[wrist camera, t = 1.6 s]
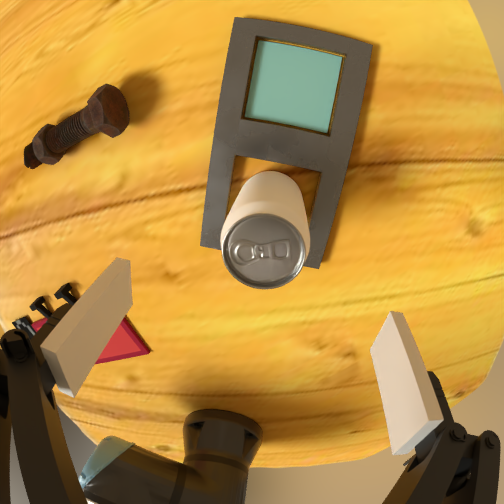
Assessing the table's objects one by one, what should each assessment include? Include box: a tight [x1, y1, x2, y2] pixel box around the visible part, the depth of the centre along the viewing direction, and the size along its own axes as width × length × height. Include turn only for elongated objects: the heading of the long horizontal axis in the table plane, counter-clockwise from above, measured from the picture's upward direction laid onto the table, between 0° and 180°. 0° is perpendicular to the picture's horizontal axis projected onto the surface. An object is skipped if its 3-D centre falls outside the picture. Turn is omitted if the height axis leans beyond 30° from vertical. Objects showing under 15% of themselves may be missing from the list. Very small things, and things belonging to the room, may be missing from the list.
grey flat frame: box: [200, 17, 373, 269], centre depth 28 cm, size 24×13×1 cm, turn 170°
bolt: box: [24, 84, 129, 169], centre depth 27 cm, size 6×5×15 cm
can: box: [220, 171, 310, 289], centre depth 26 cm, size 6×6×12 cm
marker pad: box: [245, 40, 342, 133], centre depth 25 cm, size 8×8×1 cm
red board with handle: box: [12, 283, 150, 364], centre depth 43 cm, size 30×3×15 cm
